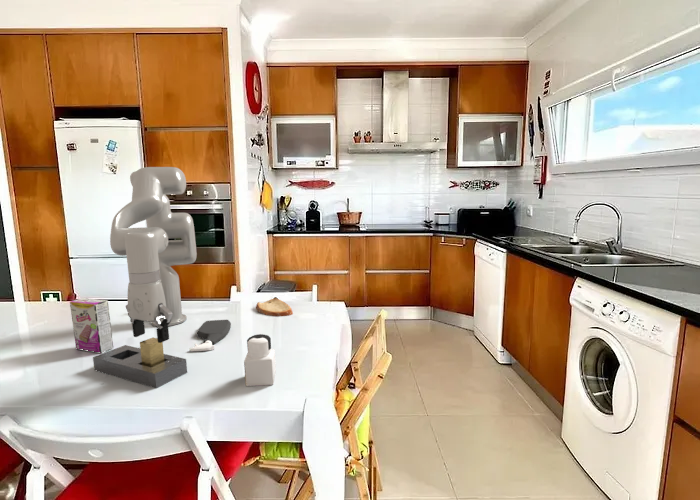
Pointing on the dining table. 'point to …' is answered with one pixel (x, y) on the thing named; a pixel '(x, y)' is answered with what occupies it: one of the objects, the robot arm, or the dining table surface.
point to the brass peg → (151, 352)
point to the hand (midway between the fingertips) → (151, 338)
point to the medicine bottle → (259, 361)
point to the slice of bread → (274, 308)
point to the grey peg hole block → (139, 366)
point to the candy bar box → (91, 324)
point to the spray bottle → (211, 334)
